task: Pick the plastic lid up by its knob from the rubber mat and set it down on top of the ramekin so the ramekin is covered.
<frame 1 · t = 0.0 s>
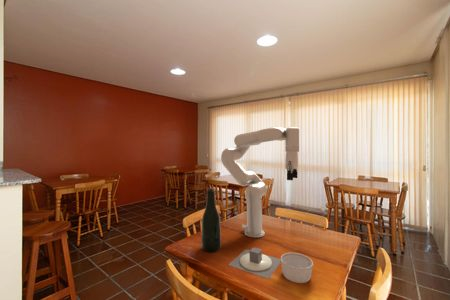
hand: (292, 178, 123), 37 cm above the table, tool pointing down, fingers open, 9 cm apart
ramekin: (296, 276, 92), on the table
lid: (255, 262, 103), resting on mat
green wine bottle: (211, 248, 118), on the table
mat: (255, 263, 103), on the table
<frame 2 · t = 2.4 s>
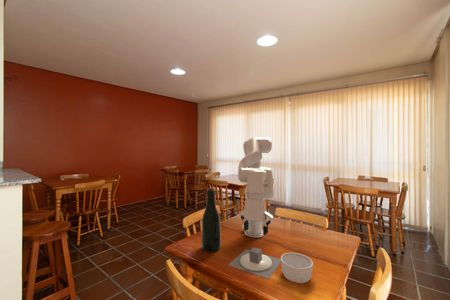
hand: (255, 231, 102), 15 cm above the table, tool pointing down, fingers open, 9 cm apart
nothing on the table moved.
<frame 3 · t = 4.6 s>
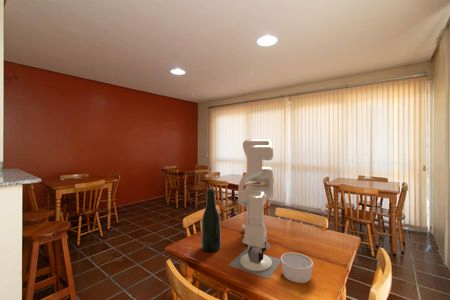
hand: (255, 258, 103), 2 cm above the table, tool pointing down, fingers closed on lid, 4 cm apart
lid: (255, 262, 103), resting on mat, touching gripper
everything else where it was.
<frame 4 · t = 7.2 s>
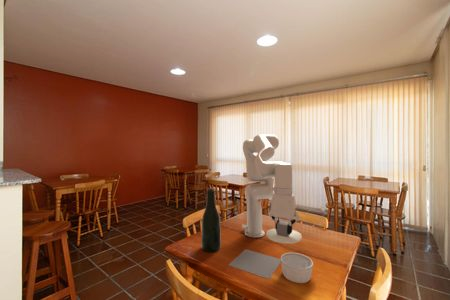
hand: (283, 232, 95), 18 cm above the table, tool pointing down, fingers closed on lid, 4 cm apart
lid: (283, 236, 95), point 16 cm above the table, touching gripper
everything else where it was.
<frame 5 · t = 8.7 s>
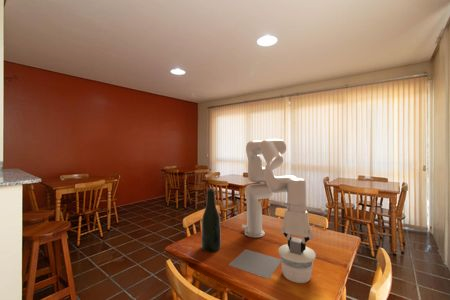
hand: (296, 249, 92), 11 cm above the table, tool pointing down, fingers closed on lid, 4 cm apart
lid: (296, 253, 92), point 10 cm above the table, touching gripper
everything else where it was.
when the fingers open (10 cm above the table, at t = 9.7 s): lid drops 2 cm, resting on ramekin.
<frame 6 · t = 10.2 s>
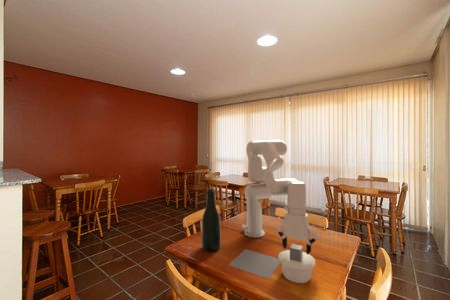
hand: (296, 250, 92), 11 cm above the table, tool pointing down, fingers open, 9 cm apart
ramekin: (296, 276, 92), on the table, touching lid
lid: (296, 260, 92), point 7 cm above the table, touching ramekin
everything else where it was.
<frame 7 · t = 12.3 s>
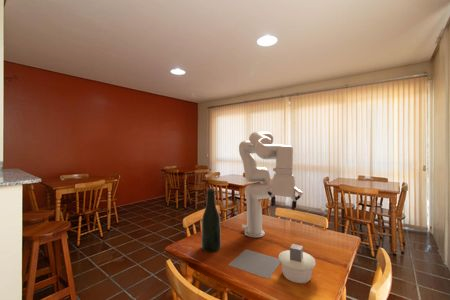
hand: (283, 207, 102), 27 cm above the table, tool pointing down, fingers open, 9 cm apart
nothing on the table moved.
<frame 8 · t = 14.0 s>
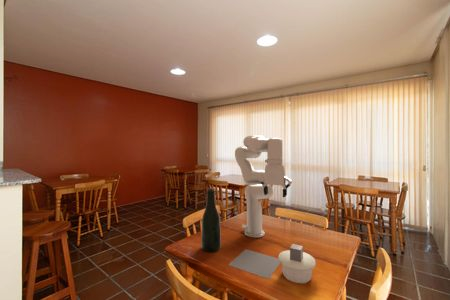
hand: (275, 195, 110), 30 cm above the table, tool pointing down, fingers open, 9 cm apart
nothing on the table moved.
at the end: lid 0.1 cm from the ramekin (horizontally); lid point 6.8 cm above the table; the gripper is holding nothing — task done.
